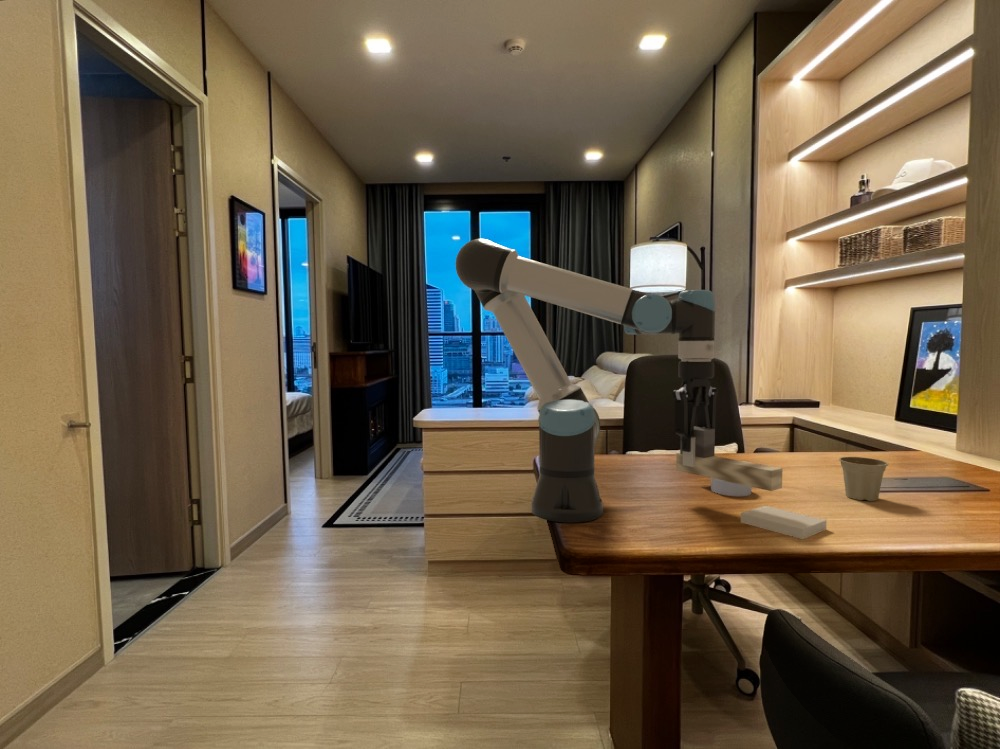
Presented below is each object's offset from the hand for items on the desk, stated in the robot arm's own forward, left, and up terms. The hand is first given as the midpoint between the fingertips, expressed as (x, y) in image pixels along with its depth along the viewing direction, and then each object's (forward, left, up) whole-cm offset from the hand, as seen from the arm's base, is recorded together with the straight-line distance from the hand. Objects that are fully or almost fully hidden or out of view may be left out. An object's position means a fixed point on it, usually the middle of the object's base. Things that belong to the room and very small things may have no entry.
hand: (695, 464), depth 121 cm
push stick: (0, -7, -2) cm, 8 cm away
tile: (0, -14, -8) cm, 16 cm away
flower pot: (+34, -20, -9) cm, 41 cm away
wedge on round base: (+16, +3, -9) cm, 18 cm away
